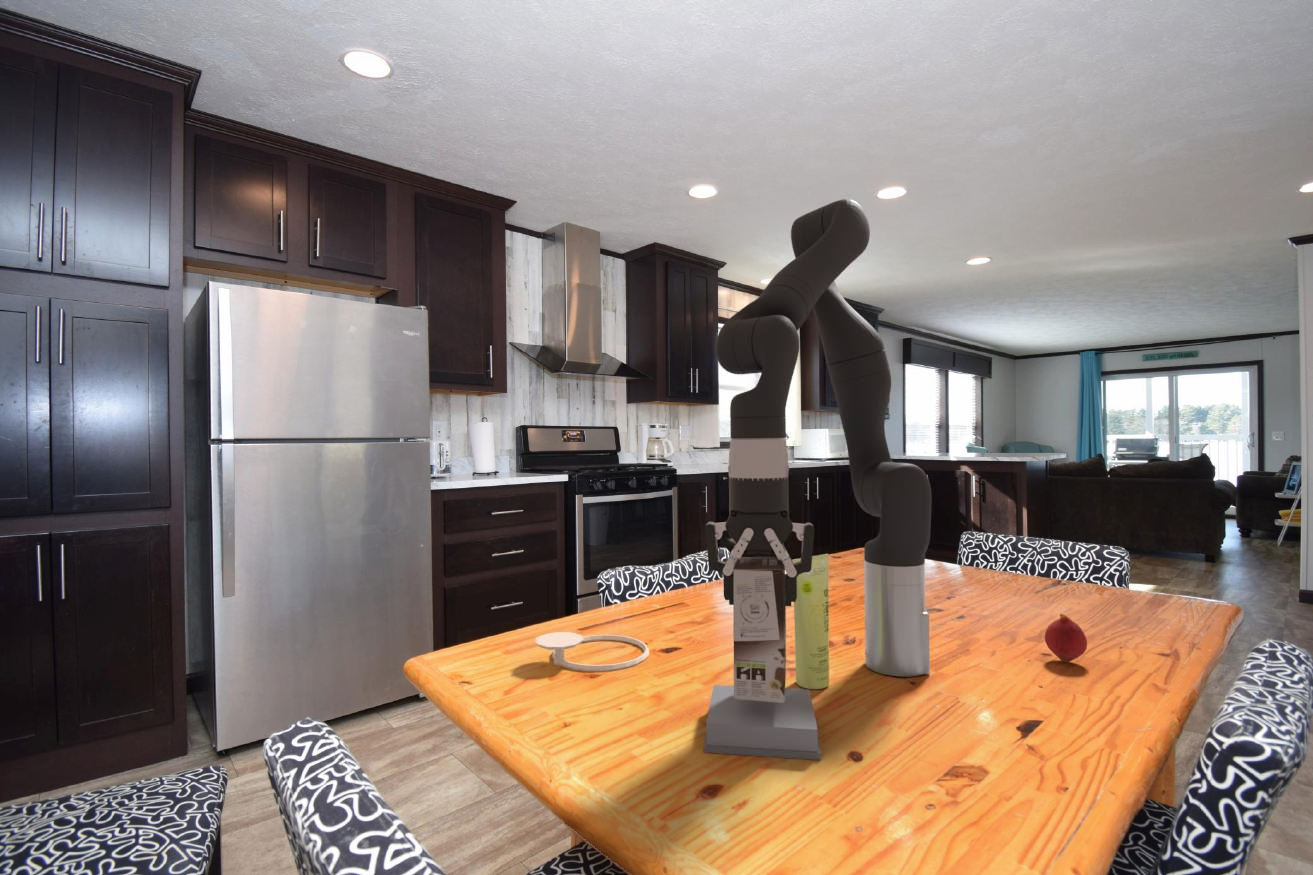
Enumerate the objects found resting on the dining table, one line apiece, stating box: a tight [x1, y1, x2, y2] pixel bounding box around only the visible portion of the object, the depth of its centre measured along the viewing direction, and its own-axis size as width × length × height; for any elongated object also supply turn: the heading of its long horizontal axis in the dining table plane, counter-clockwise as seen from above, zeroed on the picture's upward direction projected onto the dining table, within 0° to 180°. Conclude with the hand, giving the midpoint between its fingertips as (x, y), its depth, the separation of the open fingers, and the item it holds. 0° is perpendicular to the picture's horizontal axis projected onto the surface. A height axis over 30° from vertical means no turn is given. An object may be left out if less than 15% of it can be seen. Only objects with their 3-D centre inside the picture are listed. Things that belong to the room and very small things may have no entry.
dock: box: [703, 684, 822, 761], centre depth 82 cm, size 14×13×3 cm
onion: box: [1044, 612, 1088, 663], centre depth 106 cm, size 6×6×8 cm
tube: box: [791, 553, 830, 690], centre depth 97 cm, size 6×5×20 cm
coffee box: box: [733, 556, 787, 703], centre depth 82 cm, size 9×6×16 cm
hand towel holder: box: [534, 631, 650, 673], centre depth 111 cm, size 17×4×21 cm
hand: (759, 603), depth 82 cm, fingers closed on coffee box, 6 cm apart
